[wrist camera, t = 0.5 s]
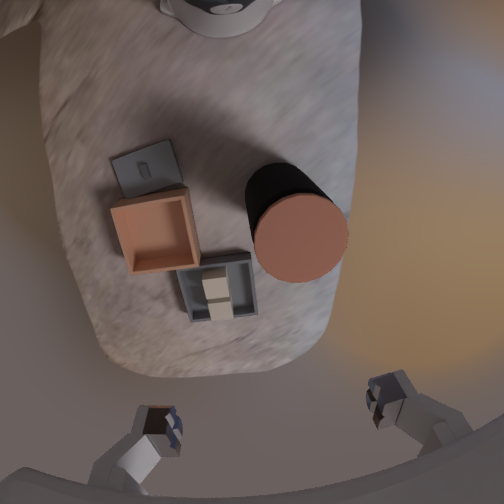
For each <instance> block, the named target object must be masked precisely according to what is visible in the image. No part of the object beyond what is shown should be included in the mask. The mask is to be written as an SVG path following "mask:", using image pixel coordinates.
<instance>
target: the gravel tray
mask: <svg viewBox="0 0 504 504" xmlns="http://www.w3.org/2000/svg"><path fill="white" fill-rule="evenodd" d="M220 266H226V268H227V274H228V280H229V288H230V291H231V296H232V302H233V314H234V318H235V317H243V316H251V315H258V308H257V300H256V292H255V284H254V276H253V268H252V260H251V253H250V252H248V253H241V254H233V255H226V256H218V257H210V258H203V259H200V264H199V267H194V268H186V269H178V270H176V274H177V277H178V281H179V285H180V288H181V292H182V295H183V299H184V302H185V306H186V309H187V312H188V316H189V319H190V322H200V321H209V320H211V316H210V312H209V308H208V299H206V295H205V291H204V287H203V283H202V275H203V269H205V268H212V267H220Z"/></svg>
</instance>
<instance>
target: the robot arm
mask: <svg viewBox="0 0 504 504" xmlns="http://www.w3.org/2000/svg"><path fill="white" fill-rule="evenodd" d="M166 1H167V2H166ZM282 1H283V0H161V1H160V10H161V12H162V13H164V14H165V15H168V16H171V17H175V18H177V19H179V20H180V21H181V22H182V23H183V24H184V25H185V26H186V27H188V28H189V29H190V30H192V31H194V32H196V33H198V34H201V35H204V36H208V37H215V38H226V37H233V36H237V35H240V34H243V33H245V32H248V31H250V30H251V29H253V28H254V27H256V26H257V25H258V24H259V23H260V22H261V21H262V20H263V19H264V18H265V17H266V15H267V13H268V12H269V10H270V9H271V8H272V7H273V6H275V5H277V4H278V3H280V2H282ZM368 386H369V389H368V390H367V393H366V403H367V406H368V409H369V411H370V412H372V413H374V415H373V421H374V423H375V425H376V428H377V429H382V428H385V427H389V426H392V425H396V426H397V427H398V428H400V429H401V430H403V431H404V432H405V433H407V434H408V435H409V436H411V437H412V438H414V439H415V440H417V441H418V442H420V443H421V444H423V447H422V449H421V450H420V452H419V454H418V456H417V457H418V458H415V459H413V460H410V461H408V462H405V463H402V464H399V465H397V466H394V467H391V468H388V469H385V470H382V471H379V472H376V473H372V474H369V475H365V476H362V477H359V478H355V479H351V480H347V481H343V482H339V483H335V484H330V485H325V486H321V487H315V488H310V489H305V490H299V491H292V492H285V493H278V494H269V495H259V496H247V497H231V498H230V497H229V498H186V497H168V496H156V495H148V492H147V491H146V490H145V489H144V488H143V487H142V486H141V485H140V483H141V482H142V481H143V479H144V478H145V477H146V476H147V475H148V473H149V472H150V471H151V470H152V469H153V467H154V466H155V465H156V464H157V462H158V461H159V460H160V459H161V457H180V450H181V444H180V442H179V439H180V438H181V437H182V433H183V427H182V422H181V419H180V417H179V416H177V415H176V409H175V407H174V406H157V405H154V406H153V405H140V406H139V407H138V409H137V412H136V416H135V419H134V423H133V427H132V430H131V434H127V435H125V436H124V437H123V438H122V439H121V440H120V441H119V442H117V443H116V444H115V445H114V446H113V447H112V448H111V449H109V450H108V451H107V452H106V453H105V454H104V455H102V456H101V457H100V458H99V459H98V460H97V461H95V462H94V464H93V468H92V471H91V474H90V477H89V481H88V484H87V485H86V484H82V483H78V482H74V481H71V480H66V479H63V478H60V477H56V476H53V475H50V474H47V473H43V472H40V471H37V470H35V469H32V468H29V467H23V468H20V469H18V470H17V471H15V472H13V473H12V474H10V475H8V476H7V477H5V478H4V479H3V480H2V481H1V482H0V504H504V414H502V415H500V416H499V417H497V418H496V419H494V420H492V421H491V422H489V423H487V424H485V425H484V426H482V427H480V428H479V429H477V430H475V431H473V430H472V428H471V426H470V425H469V423H468V422H467V420H466V419H465V417H464V415H463V414H462V412H460V411H458V410H456V409H453V408H451V407H449V406H447V405H445V404H442V403H441V402H438V401H436V400H434V399H432V398H430V397H428V396H426V395H424V394H422V393H420V394H418V393H417V391H416V389H415V388H414V386H413V385H412V383H411V381H410V380H409V378H408V377H407V375H406V374H405V372H404V371H403V370H402V369H401V370H398V371H395V372H392V373H387V374H384V375H380V376H377V377H373V378H370V379H369V382H368Z"/></svg>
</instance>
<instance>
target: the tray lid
mask: <svg viewBox="0 0 504 504" xmlns="http://www.w3.org/2000/svg"><path fill="white" fill-rule="evenodd" d="M112 164H113V166H114V169H115V172H116V175H117V177H118V180H119V183H120V186H121V188H122V191H123V193H124V196H125V199H131V198H134V197H137V196H140V195H143V194H146V193H149V192H152V191H155V190H158V189H161V188H164V187H167V186H170V185H173V184H176V183H180V182H183V178H182V175H181V172H180V169H179V166H178V163H177V160H176V157H175V153H174V150H173V147H172V144H171V141H170V139H168V140H165V141H162V142H159V143H157V144H154V145H151V146H148V147H145V148H143V149H140V150H137V151H135V152H132V153H130V154H127V155H125V156H122V157H120V158H117V159H115V160H112Z"/></svg>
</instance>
